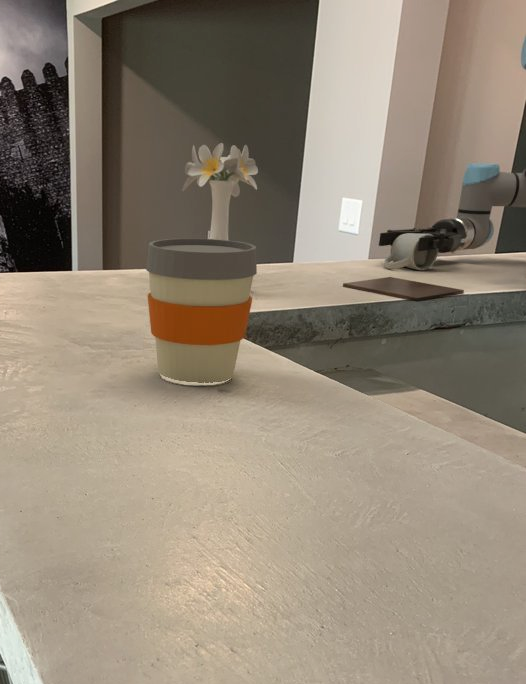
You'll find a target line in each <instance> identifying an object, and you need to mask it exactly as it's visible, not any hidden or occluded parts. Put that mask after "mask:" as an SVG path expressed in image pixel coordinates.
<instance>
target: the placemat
mask: <svg viewBox="0 0 526 684" xmlns="http://www.w3.org/2000/svg"><path fill="white" fill-rule="evenodd" d="M342 287H345V288H348V289H354V290H359V291H364V292H369V293H374V294H379V295H383V296H389V297H393V298H399V299H405V300H409V301H415V302H420V301H426V300H432V299H438V298H443V297H451V296H455V295H456V296H457V295H460V294H464V293H465V290H464V289H461V288H454V287H448V286H443V285H438V284H432V283H426V282H420V281H415V280H409V279H404V278H399V277H394V276H393V277H392V276H386V277H379V278H372V279H365V280H357V281H351V282H343V283H342Z"/></svg>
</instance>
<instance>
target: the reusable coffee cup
mask: <svg viewBox="0 0 526 684" xmlns="http://www.w3.org/2000/svg"><path fill="white" fill-rule="evenodd" d="M257 264H258V263H257V246H256V245H254V244H251V243H249V242H244V241H237V240H219V239H209V238H194V237H193V238H188V237H187V238H185V237H184V238H165V239H157V240H153V241H150V242H149V243H148V249H147V255H146V265H145V270H146V271H147V272H148V277H149V278H148V279H149V288H150V292H149V293H148V294H147V304H148V314H149V324H150V333H151V335H152V336H153V337H154V339H155V349H156V360H157V361H156V362H157V371H159V372H158V374H159V373H160V374H161V375H163V376H165V377H168V378H171V379H174V380H179V381H186V382H198V383H204V382H205V383H209V382H210V383H213V382H222V381H226V380H228V379H230V378H232V377H233V378H232V380H233V379H234V374H235V370H236V364H237V361H238V360H237V359H238V355H239V349H240V344H241V341H242V340H243V339H245V337H246V332H247V328H248V323H249V318H250V313H251V308H252V303H253V297H252V296H250V294H251V290H252V285H253V279H254V276H256V275H257V273H258V270H257V266H258V265H257ZM162 380H163V381H165V382H168V383H171V384H175V385H179V386H183V385H182V384H177V383H173V382H169V381H166V380H164V379H162ZM232 380H230V381H228V382H226V383H223V384H218V385H217V386H220V385H225V384H227V383H230V382H231V381H232ZM185 386H188V387H192V386H191V385H185ZM214 386H216V385H209V386H208V387H214Z"/></svg>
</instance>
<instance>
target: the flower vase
mask: <svg viewBox="0 0 526 684" xmlns="http://www.w3.org/2000/svg"><path fill="white" fill-rule="evenodd" d="M224 150H225V149H224V143H223V142H220V143H218V144H217V145H216V146H215V147H214V149H213V151H212V153H211V151H210V149H209V147H208V146H207V145H206V144H202V145H201V146H200V147H199V148H198V153H197V152H196V147H195V145H194V144H193V145H192V149H191V160H192V162H191V161H188V162H187V163H186V164H185V167H184V174H185V175H186V176H188V177H187V179H186V180H185V181H184V184H183V187H182V190H181V192H182V193H183V192H184V191H185V190H186V189H187V188H188V187H189V186H190V185H191V184H192V183H193V182H194V181H195V180H196V184H197V185H198V186H199V187H201V188H202V187H204V186H205V185H206V184H207V182H208V183H209V186H210V192H211V201H212V202H211V205H212V206H211V219H210V231H209V237H208V239H219V240H229V212H230V203H231V196H233V197H234V198H237V197H239V196H240V195H241V194H240V193H241V188H240V185H239V181H242V182H243V183H245V184H247V185H249V186H251V187H252V188H253V189H255V190H256V191H257V190H258V185H257V183H256V181H255V179H254V178H253V177H252V176H255V175H257V174H258V173H259V169H258V166H257V165H256V160H255V159H254V158H249V157H250V155H249V153H250V152H249V147H248V145H247V144H245V145H244V146H243V149H242V151H241V150H240V148H238V147H237V145H236V144H235V145H232V146H231V147H230V153H229V155H227V156H223V153H224ZM197 155H198V156H197ZM198 158H199V159H198ZM199 160H200V161H199ZM215 178H217V179H215Z"/></svg>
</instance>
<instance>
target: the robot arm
mask: <svg viewBox="0 0 526 684" xmlns="http://www.w3.org/2000/svg"><path fill="white" fill-rule="evenodd" d="M521 46H522V47H521V54H520V61H521V66H522V68H523V69H524V70H525V71H526V34H525V35H524V39H523V43H522V45H521ZM461 182H462V183H461V191H460V197H459V203H458V209H457V213H456V217H453V218H445V219H440V220H437V221H436V222H435V223H434V224H433V225H432V226H431V227H427V228H418V229H417V228H416V227H413V228H408V229H387V230H386V232H380V233H379V241H378V247H386V246H387V247H388V246H390V247H392V244H393V242H394V240H395V239H396V238H397V237H398V236H399V235H402V234H406V233H415V234H431V235H433V236H429V237H421V238H419V244H418V250H417V251H425V250H432V249H436V247H437V248H438V254H446V253H447V254H448V253H451V254H455V253H456V252H457V251H465V250H474V249H477V248H480V247H483V246H485V245H487V244H488V243H489V242H490V241H491V240H492V238H493V236H494V232H495V227H494V224H493V221H492V220H491V219H490V217H491V214H492V210H493V207H507V208H508V207H512V208H526V167H525V168H524V170H523V171H522V172H505V171H501V166H500V164H498V163H490V162H489V163H488V162H487V163H486V162H485V163H483V162H472V163H470V164H468V165H467V166H466V168H465V171H464V175H463V179H462V181H461Z"/></svg>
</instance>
